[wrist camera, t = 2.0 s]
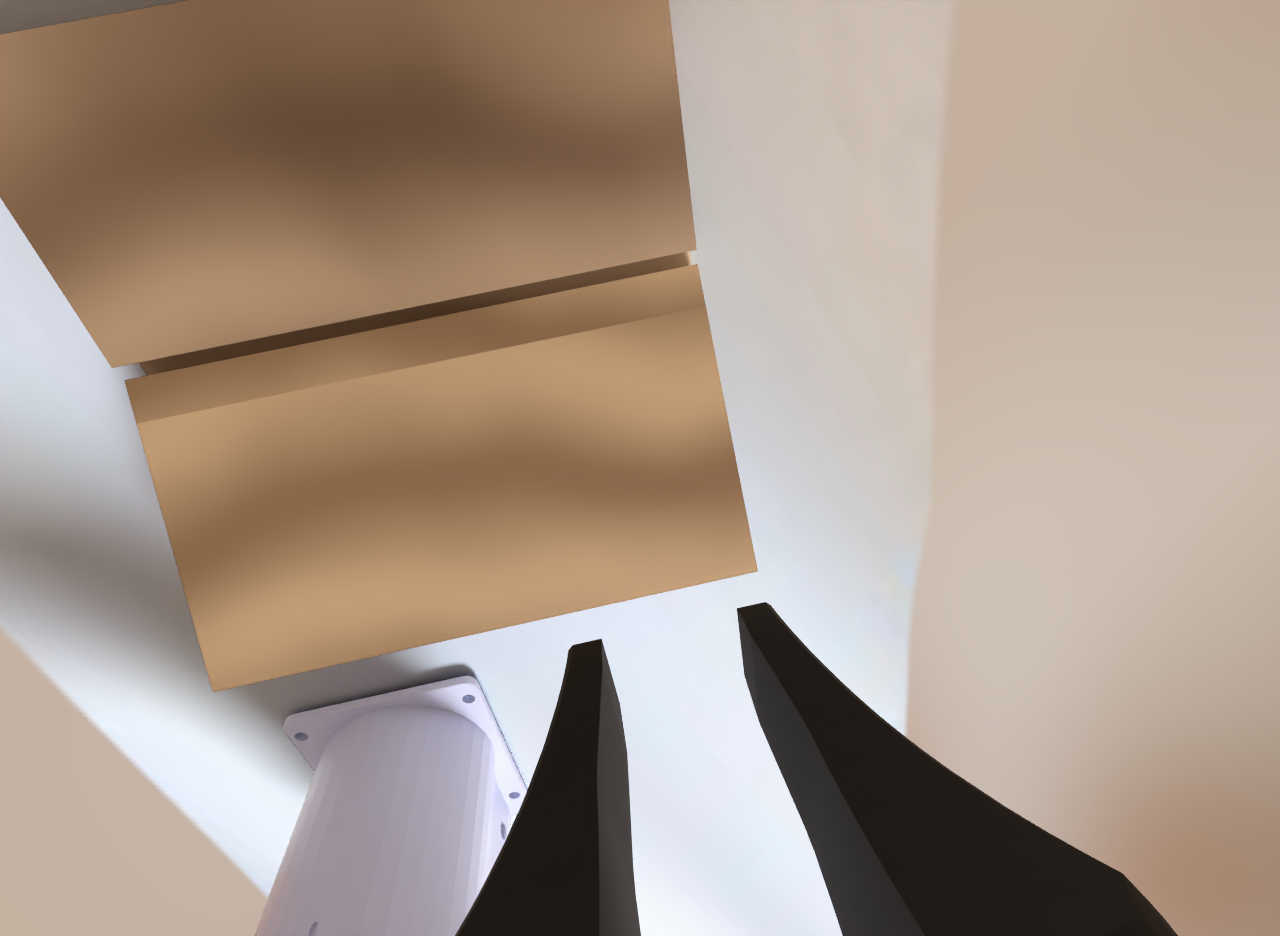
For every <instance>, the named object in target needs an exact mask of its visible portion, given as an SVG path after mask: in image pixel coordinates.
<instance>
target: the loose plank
mask: <svg viewBox="0 0 1280 936" xmlns="http://www.w3.org/2000/svg"><path fill="white" fill-rule="evenodd" d="M124 381H125V384H126V388H127V391H128V395H129V398H130V402H131V406H132V409H133V413H134V416H135V420H136V423H137V427H138V430H139V434H140V437H141V441H142V444H143V448H144V451H145V455H146V458H147V462H148V465H149V469H150V472H151V476H152V479H153V483H154V486H155V490H156V494H157V497H158V501H159V504H160V508H161V511H162V515H163V518H164V522H165V525H166V529H167V532H168V536H169V539H170V543H171V546H172V550H173V553H174V557H175V560H176V564H177V567H178V571H179V574H180V578H181V582H182V585H183V589H184V592H185V596H186V599H187V603H188V606H189V610H190V613H191V617H192V620H193V624H194V627H195V631H196V634H197V638H198V641H199V645H200V648H201V652H202V655H203V659H204V663H205V666H206V670H207V673H208V677H209V680H210V684H211V687H212V691H213V692H216V691H221V690H225V689H230V688H234V687H239V686H243V685H248V684H252V683H257V682H261V681H266V680H270V679H275V678H279V677H284V676H288V675H293V674H297V673H302V672H306V671H311V670H315V669H320V668H324V667H329V666H333V665H338V664H342V663H347V662H351V661H356V660H360V659H365V658H369V657H374V656H378V655H383V654H387V653H392V652H396V651H401V650H405V649H410V648H414V647H419V646H423V645H428V644H432V643H437V642H441V641H446V640H450V639H455V638H460V637H464V636H469V635H473V634H478V633H482V632H487V631H491V630H496V629H500V628H505V627H509V626H514V625H518V624H523V623H527V622H532V621H536V620H541V619H545V618H550V617H554V616H559V615H563V614H568V613H572V612H577V611H581V610H586V609H590V608H595V607H599V606H604V605H608V604H613V603H617V602H622V601H626V600H631V599H635V598H640V597H644V596H649V595H653V594H658V593H662V592H667V591H671V590H676V589H680V588H685V587H689V586H694V585H699V584H703V583H708V582H712V581H717V580H721V579H726V578H730V577H735V576H739V575H744V574H748V573H753V572H757V571H758V570H757V565H756V560H755V555H754V550H753V545H752V540H751V535H750V529H749V524H748V519H747V514H746V509H745V504H744V499H743V494H742V489H741V484H740V479H739V474H738V469H737V463H736V458H735V453H734V448H733V443H732V438H731V433H730V428H729V423H728V418H727V413H726V408H725V402H724V397H723V392H722V387H721V382H720V377H719V372H718V367H717V362H716V357H715V352H714V347H713V341H712V336H711V331H710V326H709V321H708V316H707V311H706V306H705V301H704V296H703V291H702V286H701V281H700V275H699V270H698V265H697V264H695V265H690V266H685V267H680V268H675V269H670V270H666V271H661V272H656V273H651V274H646V275H641V276H636V277H631V278H626V279H621V280H616V281H611V282H606V283H601V284H597V285H592V286H587V287H582V288H577V289H572V290H567V291H562V292H557V293H552V294H547V295H542V296H537V297H533V298H528V299H523V300H518V301H513V302H508V303H503V304H498V305H493V306H488V307H483V308H478V309H473V310H468V311H464V312H459V313H454V314H449V315H444V316H439V317H434V318H429V319H424V320H419V321H414V322H409V323H404V324H400V325H395V326H390V327H385V328H380V329H375V330H370V331H365V332H360V333H355V334H350V335H345V336H340V337H336V338H331V339H326V340H321V341H316V342H311V343H306V344H301V345H296V346H291V347H286V348H281V349H276V350H271V351H267V352H262V353H257V354H252V355H247V356H242V357H237V358H232V359H227V360H222V361H217V362H212V363H207V364H203V365H198V366H193V367H188V368H183V369H178V370H173V371H168V372H163V373H158V374H153V375H148V376H143V377H138V378H134V379H129V380H124Z"/></svg>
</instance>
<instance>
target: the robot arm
mask: <svg viewBox="0 0 1280 936" xmlns="http://www.w3.org/2000/svg"><path fill="white" fill-rule="evenodd" d="M737 613H738V622H739V631H740V640H741V649H742V657H743V666H744V675H745V678H746V681H747V685H748V688H749V691H750V694H751V697H752V701H753V704H754V707H755V710H756V713H757V716H758V719H759V722H760V725H761V727H762V729H763V732H764V734H765V736H766V739H767V741H768V743H769V746H770V748H771V750H772V752H773V755H774V757H775V759H776V762H777V764H778V766H779V769H780V771H781V773H782V775H783V778H784V780H785V782H786V785H787V787H788V789H789V792H790V794H791V796H792V798H793V801H794V803H795V805H796V808H797V810H798V812H799V814H800V817H801V819H802V821H803V824H804V826H805V828H806V831H807V833H808V836H809V839H810V841H811V844H812V846H813V849H814V851H815V854H816V857H817V860H818V863H819V866H820V869H821V872H822V875H823V878H824V881H825V883H826V886H827V889H828V892H829V895H830V898H831V901H832V904H833V907H834V910H835V913H836V916H837V919H838V922H839V925H840V928H841V931H842V934H843V936H1178V935H1177V934H1176V933H1175V932H1174V931H1173V929H1172V928H1171V926H1170V925H1169V924H1168V923H1167V921H1166V920H1165V919H1164V918H1163V917H1162V915H1161V914H1160V913H1159V912H1158V911H1157V910H1156V909H1155V908H1154V907H1153V905H1152V904H1151V903H1150V902H1149V901H1148V900H1147V899H1146V898H1145V897H1144V896H1143V895H1142V894H1141V893H1140V891H1138V889H1137V888H1136V887H1135V886H1134V885H1133V884H1132V883H1131V882H1130V881H1129V880H1128V879H1127V878H1126V877H1125V875H1123V874H1122V873H1121V872H1119V871H1117V870H1115V869H1113V868H1111V867H1109V866H1108V865H1106V864H1104V863H1102V862H1100V861H1098V860H1096V859H1095V858H1093V857H1091V856H1089V855H1087V854H1085V853H1083V852H1082V851H1080V850H1078V849H1076V848H1074V847H1073V846H1071V845H1069V844H1067V843H1066V842H1064V841H1062V840H1060V839H1059V838H1057V837H1055V836H1053V835H1051V834H1050V833H1048V832H1046V831H1045V830H1043V829H1041V828H1040V827H1038V826H1036V825H1035V824H1033V823H1031V822H1030V821H1028V820H1026V819H1025V818H1023V817H1021V816H1020V815H1018V814H1016V813H1015V812H1013V811H1012V810H1010V809H1008V808H1007V807H1005V806H1003V805H1002V804H1000V803H999V802H997V801H996V800H994V799H993V798H991V797H990V796H988V795H987V794H985V793H984V792H982V791H981V790H979V789H978V788H976V787H975V786H973V785H971V784H970V783H969V782H967V781H966V780H964V779H963V778H961V777H960V776H958V775H957V774H955V773H954V772H952V771H950V770H949V769H948V768H946V767H945V766H944V765H942V764H941V763H939V762H938V761H937V760H935V759H934V758H933V757H931V756H930V755H929V754H927V753H926V752H924V751H923V750H922V749H920V748H919V747H918V746H916V745H915V744H914V743H913V742H911V741H910V740H909V739H907V738H906V737H905V736H904V735H902V734H901V733H900V732H898V731H897V730H896V729H895V728H893V727H892V726H891V725H890V724H889V723H887V722H886V721H885V720H884V719H883V718H881V717H880V716H879V715H878V714H877V713H875V712H874V711H873V710H872V709H871V708H870V707H869V706H867V705H866V704H865V703H864V702H863V701H862V700H861V699H860V698H858V697H857V696H856V695H855V694H854V693H853V692H852V691H851V690H850V689H849V688H847V687H846V686H845V685H844V684H843V683H842V682H841V681H840V680H839V679H838V678H837V677H836V676H835V675H834V674H833V673H832V672H831V671H830V670H829V669H828V668H827V667H826V666H825V665H824V664H823V663H822V662H821V661H820V660H819V659H818V658H817V657H816V656H815V655H814V654H813V653H812V652H811V651H810V650H809V649H808V648H807V647H806V646H805V645H804V644H803V643H802V641H801V640H800V639H799V638H798V637H797V636H796V635H795V634H794V633H793V632H792V630H791V629H790V628H789V627H788V626H787V625H786V624H785V622H784V621H783V620H782V619H781V618H780V616H779V615H778V614H777V613H776V611H775V610H774V609H773V608H772V606H771V605H769V604H768V603H766V602H764V603H759V604H755V605H750V606H746V607H741V608H737ZM468 695H471V696H468ZM283 730H284V732H285V733H286V734H287V736H288V737H289V738H290V740H291V741H292V742H293V744H294V745H295V746H296V748H297V749H298V750H299V752H300V753H301V754H302V756H303V757H304V759H305V760H306V761H307V763H308V764H309V765H310V767H311V768H312V769H313V771H314V772H315V774H314V777H313V779H312V782H311V785H310V787H309V790H308V793H307V796H306V798H305V801H304V804H303V806H302V809H301V812H300V814H299V817H298V820H297V822H296V825H295V828H294V830H293V833H292V836H291V838H290V841H289V844H288V847H287V849H286V852H285V855H284V857H283V860H282V863H281V865H280V868H279V871H278V873H277V876H276V879H275V881H274V884H273V887H272V889H271V892H270V895H269V897H268V900H267V903H266V906H265V908H264V911H263V914H262V917H261V919H260V922H259V924H258V927H257V930H256V932H255V935H254V936H641V933H640V925H639V918H638V910H637V903H636V895H635V884H634V873H633V857H632V837H631V818H630V798H629V780H628V761H627V749H626V742H625V736H624V729H623V722H622V716H621V709H620V703H619V700H618V696H617V692H616V689H615V685H614V682H613V678H612V675H611V671H610V667H609V664H608V660H607V657H606V653H605V650H604V646H603V643H602V639H598V640H594V641H589V642H585V643H580V644H576V645H573V646H572V647H571V648H570V649H569V651H568V658H567V664H566V669H565V674H564V678H563V682H562V687H561V691H560V694H559V698H558V702H557V706H556V709H555V712H554V715H553V719H552V722H551V725H550V728H549V732H548V735H547V738H546V741H545V744H544V747H543V750H542V753H541V755H540V758H539V761H538V764H537V766H536V769H535V772H534V774H533V777H532V780H531V782H530V785H529V788H528V790H526V787H525V785H524V783H523V781H522V778H521V776H520V774H519V772H518V770H517V767H516V765H515V763H514V761H513V759H512V756H511V754H510V752H509V750H508V747H507V745H506V743H505V741H504V739H503V736H502V734H501V732H500V730H499V728H498V725H497V723H496V721H495V719H494V717H493V714H492V712H491V710H490V708H489V705H488V703H487V701H486V699H485V697H484V694H483V692H482V690H481V688H480V686H479V683H478V681H477V680H476V679H475V678H473V677H471V676H461V677H456V678H452V679H448V680H443V681H439V682H434V683H430V684H425V685H421V686H416V687H412V688H407V689H403V690H398V691H394V692H389V693H385V694H381V695H376V696H372V697H367V698H363V699H358V700H354V701H349V702H345V703H340V704H336V705H331V706H327V707H323V708H318V709H314V710H309V711H305V712H300V713H296V714H292V715H290V716H288V717H287V718H286V720H285V722H284V725H283ZM514 814H517V816H516V819H515V821H514V823H513V825H512V827H511V830H510V817H511V815H514Z"/></svg>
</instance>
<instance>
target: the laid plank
mask: <svg viewBox="0 0 1280 936" xmlns="http://www.w3.org/2000/svg"><path fill="white" fill-rule="evenodd" d="M0 198H1V199H2V201H3V202H4V204H5V205H6V207H7V208H8V210H9V211H10V213H11V214H12V216H13V217H14V219H15V220H16V222H17V224H18V225H19V227H20V228H21V230H22V231H23V233H24V234H25V236H26V237H27V239H28V240H29V242H30V243H31V245H32V246H33V248H34V249H35V251H36V253H37V254H38V256H39V257H40V259H41V260H42V262H43V263H44V265H45V266H46V268H47V269H48V271H49V272H50V274H51V275H52V277H53V279H54V280H55V282H56V283H57V285H58V286H59V288H60V289H61V291H62V292H63V294H64V295H65V297H66V298H67V300H68V301H69V303H70V304H71V306H72V308H73V309H74V311H75V312H76V314H77V315H78V317H79V318H80V320H81V321H82V323H83V324H84V326H85V327H86V329H87V330H88V332H89V333H90V335H91V337H92V338H93V340H94V341H95V343H96V344H97V346H98V347H99V349H100V350H101V352H102V353H103V355H104V356H105V358H106V359H107V361H108V363H109V364H110V366H111V367H112V368H114V367H119V366H124V365H129V364H134V363H140V365H141V366H142V368H143V370H144V371H145V373H146V374H147V376H148V375H153V374H158V373H163V372H168V371H173V370H178V369H183V368H188V367H193V366H198V365H203V364H207V363H212V362H217V361H222V360H227V359H232V358H237V357H242V356H247V355H252V354H257V353H262V352H267V351H271V350H276V349H281V348H286V347H291V346H296V345H301V344H306V343H311V342H316V341H321V340H326V339H331V338H336V337H340V336H345V335H350V334H355V333H360V332H365V331H370V330H375V329H380V328H385V327H390V326H395V325H400V324H404V323H409V322H414V321H419V320H424V319H429V318H434V317H439V316H444V315H449V314H454V313H459V312H464V311H468V310H473V309H478V308H483V307H488V306H493V305H498V304H503V303H508V302H513V301H518V300H523V299H528V298H533V297H537V296H542V295H547V294H552V293H557V292H562V291H567V290H572V289H577V288H582V287H587V286H592V285H597V284H601V283H606V282H611V281H616V280H621V279H626V278H631V277H636V276H641V275H646V274H651V273H656V272H661V271H666V270H670V269H675V268H680V267H685V266H690V265H692V264H691V256H690V251H693V250H697V249H696V240H695V231H694V223H693V214H692V205H691V196H690V187H689V179H688V170H687V161H686V152H685V143H684V134H683V126H682V117H681V108H680V99H679V90H678V81H677V73H676V64H675V55H674V46H673V37H672V28H671V20H670V11H669V2H668V0H186V1H181V2H175V3H170V4H164V5H159V6H153V7H148V8H142V9H137V10H131V11H126V12H120V13H115V14H109V15H104V16H98V17H93V18H88V19H82V20H77V21H71V22H66V23H60V24H55V25H49V26H44V27H38V28H33V29H27V30H22V31H16V32H11V33H5V34H0Z"/></svg>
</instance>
